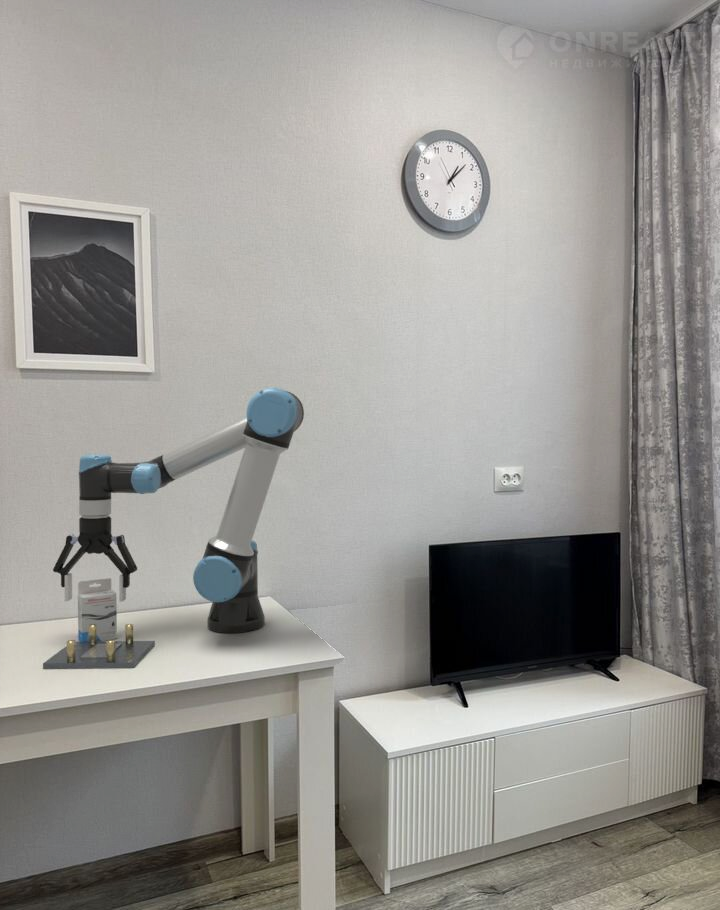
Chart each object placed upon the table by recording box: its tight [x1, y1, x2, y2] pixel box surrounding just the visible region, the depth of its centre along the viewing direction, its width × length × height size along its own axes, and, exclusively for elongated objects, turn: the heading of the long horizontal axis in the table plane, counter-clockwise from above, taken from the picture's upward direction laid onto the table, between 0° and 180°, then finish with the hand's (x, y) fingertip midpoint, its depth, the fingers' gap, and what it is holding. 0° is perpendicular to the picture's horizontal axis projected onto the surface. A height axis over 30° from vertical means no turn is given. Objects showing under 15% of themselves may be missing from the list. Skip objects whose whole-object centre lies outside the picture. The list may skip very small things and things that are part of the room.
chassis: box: [42, 623, 156, 670], centre depth 160 cm, size 20×16×6 cm
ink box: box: [77, 577, 118, 642], centre depth 174 cm, size 8×5×15 cm, turn 123°
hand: (95, 600), depth 174 cm, fingers open, 13 cm apart
